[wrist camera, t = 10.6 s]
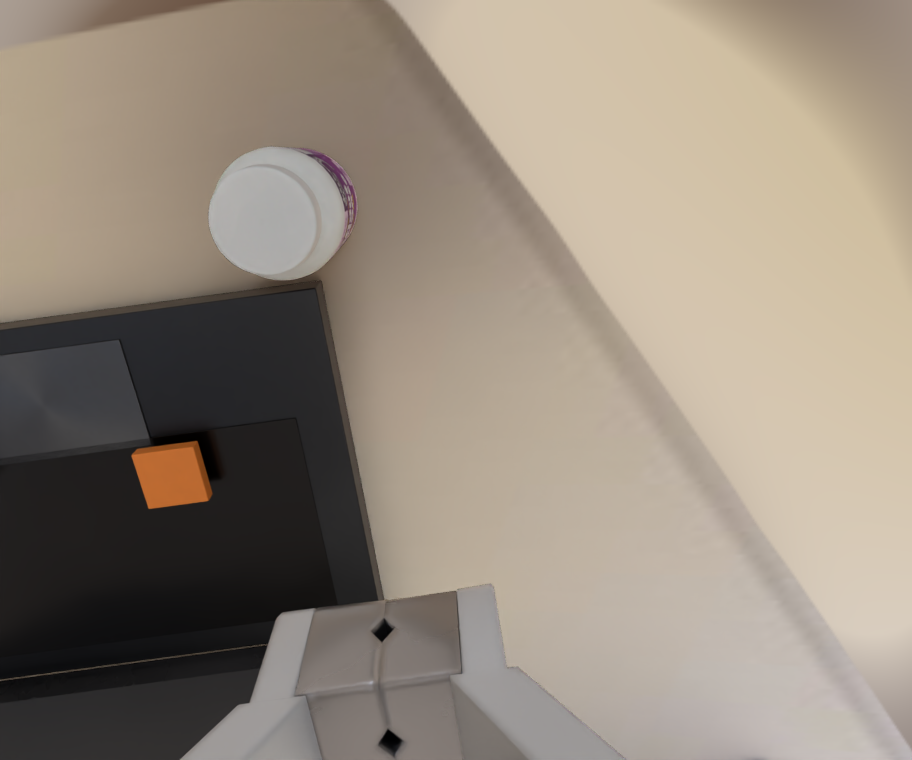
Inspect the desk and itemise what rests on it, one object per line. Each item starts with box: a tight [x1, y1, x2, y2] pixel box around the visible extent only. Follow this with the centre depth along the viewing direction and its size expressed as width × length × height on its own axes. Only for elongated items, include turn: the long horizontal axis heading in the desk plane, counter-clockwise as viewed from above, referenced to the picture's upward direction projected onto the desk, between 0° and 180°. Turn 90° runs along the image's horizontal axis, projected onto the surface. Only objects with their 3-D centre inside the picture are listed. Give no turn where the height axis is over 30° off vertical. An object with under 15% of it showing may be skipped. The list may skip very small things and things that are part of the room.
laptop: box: [0, 281, 384, 679], centre depth 37 cm, size 21×30×2 cm
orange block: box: [132, 441, 213, 509], centre depth 34 cm, size 3×3×1 cm
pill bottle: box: [208, 146, 358, 280], centre depth 29 cm, size 5×5×10 cm
